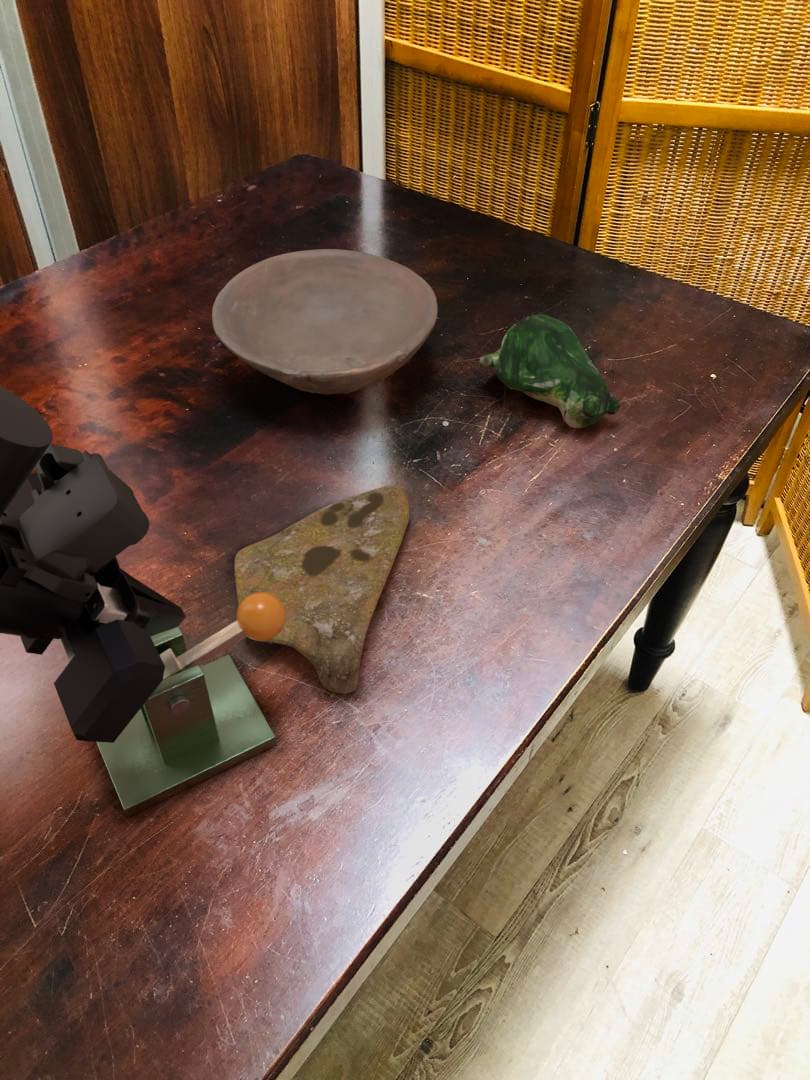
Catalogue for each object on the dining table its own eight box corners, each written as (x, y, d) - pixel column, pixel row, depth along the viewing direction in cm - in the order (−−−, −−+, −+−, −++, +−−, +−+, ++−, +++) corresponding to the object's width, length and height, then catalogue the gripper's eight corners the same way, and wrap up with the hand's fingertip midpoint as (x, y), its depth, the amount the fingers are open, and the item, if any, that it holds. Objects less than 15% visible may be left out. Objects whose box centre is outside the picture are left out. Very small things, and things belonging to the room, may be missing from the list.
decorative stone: (359, 702, 71) (352, 659, 68) (189, 678, 75) (174, 635, 72) (431, 518, 89) (427, 478, 86) (292, 506, 93) (283, 467, 90)
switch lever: (279, 599, 67) (264, 574, 64) (300, 632, 65) (285, 607, 62) (150, 679, 65) (128, 657, 63) (167, 716, 63) (146, 694, 60)
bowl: (398, 296, 114) (399, 234, 107) (465, 413, 98) (471, 348, 91) (204, 324, 108) (194, 261, 102) (242, 454, 92) (233, 388, 86)
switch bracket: (230, 662, 74) (215, 586, 67) (276, 744, 69) (266, 672, 62) (89, 724, 69) (57, 650, 62) (127, 817, 64) (96, 749, 57)
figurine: (459, 369, 98) (548, 447, 91) (492, 297, 94) (588, 374, 86) (536, 369, 107) (623, 440, 100) (570, 304, 103) (663, 374, 95)
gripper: (84, 577, 40) (313, 628, 52) (-13, 366, 51) (195, 448, 63) (-35, 742, 43) (207, 754, 55) (-103, 509, 54) (112, 562, 66)
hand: (180, 617), depth 60 cm, fingers closed
